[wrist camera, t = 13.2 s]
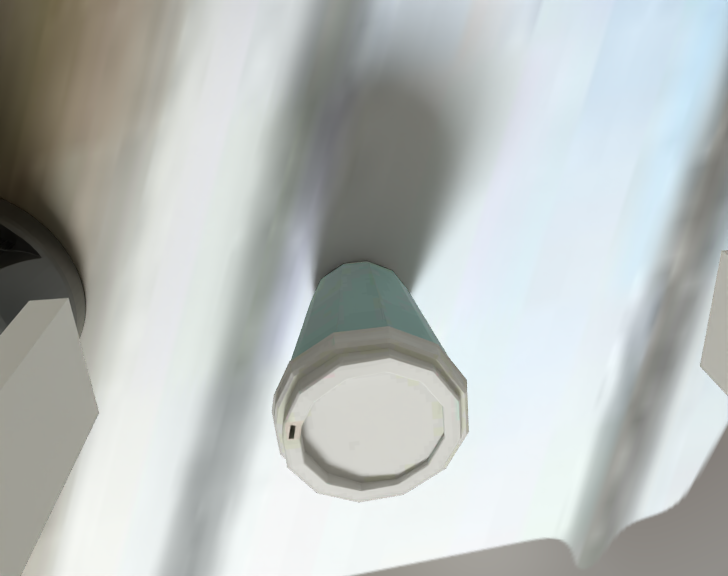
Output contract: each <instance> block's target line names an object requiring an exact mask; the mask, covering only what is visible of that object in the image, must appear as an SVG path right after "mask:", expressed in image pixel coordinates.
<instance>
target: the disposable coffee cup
mask: <svg viewBox="0 0 728 576" xmlns="http://www.w3.org/2000/svg"><path fill="white" fill-rule="evenodd" d="M272 415H273V420H274V426H275V431H276V436H277V440H278V445H279V450H280V454H281V455H282V456H283V457H284V458H285V459H286V462H287V467H288V468H289V469H290V470H291V471H292V472H293V473H294V474H296V475H297V476H298V477H299V478H300V479H301V480H302V481H304V482H305V483H306V484H307V485H308V486H309V487H310V488H312V489H313V490H314V491H315V492H316V493H319V494H323V495H328V496H332V497H337V498H341V499H346V500H350V501H355V502H364V501H370V500H376V499H382V498H387V497H393V496H399V495H404V494H405V493H407V492H409V491H410V490H412V489H413V488H415V487H417V486H418V485H420V484H422V483H423V482H425V481H426V480H428V479H430V478H431V477H433V476H435V475H436V474H438V473H439V472H441V471H442V470H444V469H446V467H447V466H448V464H449V462H450V461H451V459H452V458H453V456H454V455H455V453H456V451H457V450H458V448H459V447H460V445H461V443H462V442H463V440H464V439H465V437H466V436H467V434H468V432H469V426H468V401H467V380H466V378H465V377H464V376H463V375H462V373H461V372H460V371H459V370H458V368H457V367H456V366H455V365H454V363H453V362H452V361H451V360H450V358H449V357H448V355H447V354H446V352H445V350H444V349H443V347H442V346H441V344H440V342H439V341H438V339H437V337H436V336H435V334H434V332H433V331H432V329H431V327H430V326H429V324H428V323H427V321H426V319H425V318H424V316H423V314H422V313H421V311H420V309H419V308H418V306H417V304H416V303H415V301H414V299H413V298H412V296H411V295H410V293H409V291H408V290H407V288H406V287H405V286H404V285H403V283H402V282H401V281H400V279H399V278H398V277H397V276H396V274H395V273H394V272H393V271H392V270H389V269H387V268H384V267H381V266H379V265H376V264H374V263H371V262H368V261H363V262H355V263H346V264H343V265H341V266H340V267H338V268H337V269H335V270H334V271H332V272H331V273H329V274H328V275H326V276H325V277H324V278H322V279H321V280H320V283H319V285H318V287H317V289H316V291H315V293H314V296H313V298H312V300H311V303H310V305H309V308H308V311H307V314H306V317H305V320H304V323H303V326H302V329H301V332H300V335H299V338H298V341H297V344H296V347H295V350H294V353H293V356H292V359H291V361H290V362H289V364H288V366H287V368H286V370H285V372H284V375H283V377H282V379H281V381H280V383H279V385H278V387H277V389H276V392H275V394H274V398H273V406H272Z"/></svg>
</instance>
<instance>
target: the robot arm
mask: <svg viewBox="0 0 728 576" xmlns="http://www.w3.org/2000/svg"><path fill="white" fill-rule="evenodd" d="M84 321H85V297H84V291H83V287H82V283H81V280H80V277H79V274H78V272H77V270H76V268H75V265H74V264H73V262H72V260H71V258H70V256H69V255H68V253H67V252H66V250H65V249H64V248H63V246H62V245H61V244H60V242H59V241H58V240H57V239H56V238H55V237H54V236H53V234H52V233H51V232H50V231H49V230H48V229H46V228H45V227H44V226H43V225H42V224H41V223H40V222H38V221H37V220H36V219H35V218H33V217H32V216H31V215H29V214H28V213H26V212H25V211H23V210H22V209H20V208H18V207H17V206H15V205H13V204H11V203H9V202H7V201H5V200H3V199H0V576H21V574H22V572H23V570H24V568H25V566H26V564H27V562H28V560H29V558H30V555H31V553H32V551H33V549H34V547H35V545H36V543H37V541H38V539H39V537H40V535H41V533H42V530H43V528H44V526H45V524H46V522H47V520H48V518H49V516H50V514H51V512H52V510H53V508H54V506H55V503H56V501H57V499H58V497H59V495H60V493H61V491H62V489H63V487H64V485H65V483H66V481H67V478H68V476H69V474H70V472H71V470H72V468H73V466H74V464H75V462H76V460H77V458H78V456H79V454H80V451H81V449H82V447H83V445H84V443H85V441H86V439H87V437H88V435H89V433H90V431H91V429H92V426H93V424H94V422H95V420H96V418H97V416H98V414H99V411H98V407H97V403H96V400H95V396H94V392H93V388H92V384H91V381H90V377H89V373H88V369H87V366H86V362H85V358H84V354H83V351H82V347H81V343H80V336H81V333H82V330H83V326H84ZM700 367H701V368H702V369H703V370H704V371H705V372H706V373H707V374H708V375H709V377H710V378H711V379H712V380H713V381H714V382H715V383H716V384H717V385H718V386H719V387H720V388H721V389H722V390H723V391H724V392H725V394H726V395H727V396H728V250H726V251H721V257H720V262H719V267H718V273H717V278H716V283H715V288H714V294H713V299H712V304H711V310H710V315H709V320H708V326H707V331H706V336H705V342H704V347H703V352H702V358H701V363H700Z"/></svg>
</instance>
